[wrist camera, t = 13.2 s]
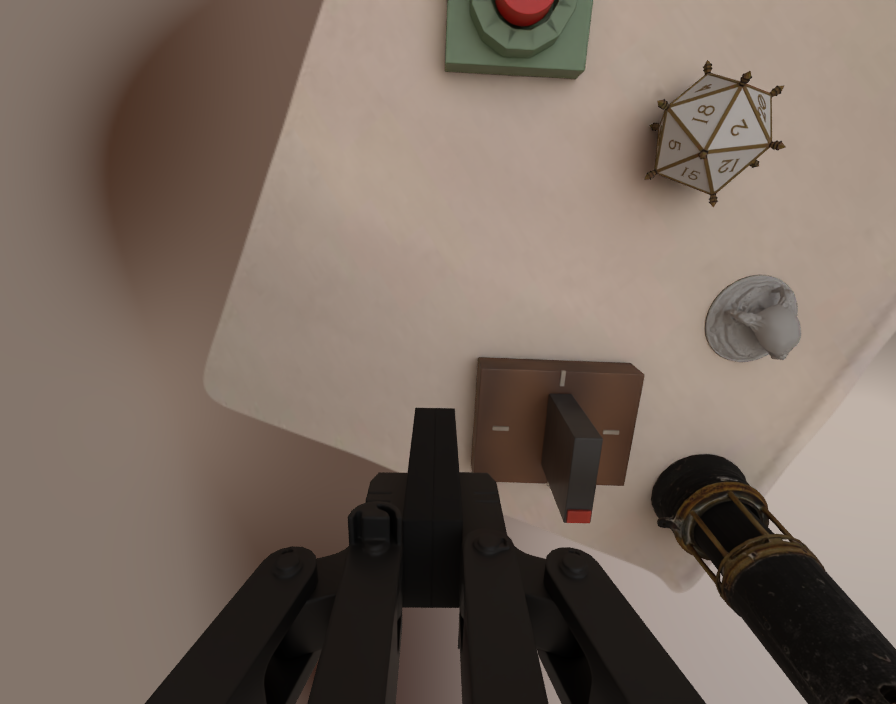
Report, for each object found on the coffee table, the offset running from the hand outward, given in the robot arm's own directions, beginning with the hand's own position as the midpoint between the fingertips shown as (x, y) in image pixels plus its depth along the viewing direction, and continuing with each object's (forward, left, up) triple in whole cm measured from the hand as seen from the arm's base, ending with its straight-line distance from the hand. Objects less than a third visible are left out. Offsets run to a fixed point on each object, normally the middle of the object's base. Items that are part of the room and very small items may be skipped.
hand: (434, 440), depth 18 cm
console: (+11, -10, -23) cm, 27 cm away
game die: (+19, +14, -24) cm, 33 cm away
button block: (+5, +22, -23) cm, 33 cm away
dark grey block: (+11, -10, -20) cm, 25 cm away
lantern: (+27, -18, -24) cm, 40 cm away
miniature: (+28, 0, -24) cm, 36 cm away
